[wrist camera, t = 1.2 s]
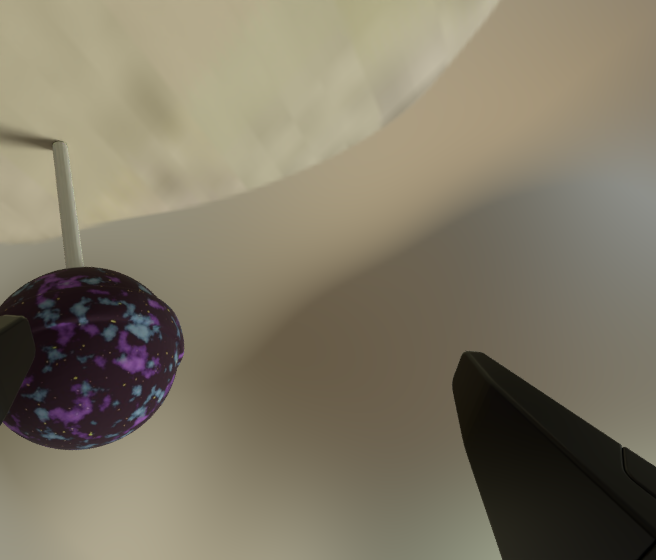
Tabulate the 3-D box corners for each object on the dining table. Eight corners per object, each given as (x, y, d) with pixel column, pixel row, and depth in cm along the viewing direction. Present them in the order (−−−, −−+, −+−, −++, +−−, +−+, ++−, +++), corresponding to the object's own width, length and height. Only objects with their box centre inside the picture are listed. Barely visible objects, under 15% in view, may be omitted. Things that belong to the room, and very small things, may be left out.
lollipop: (121, 76, 23) (194, 364, 15) (144, 188, 28) (206, 443, 21) (-56, 90, 21) (-78, 435, 13) (5, 208, 26) (16, 502, 18)
